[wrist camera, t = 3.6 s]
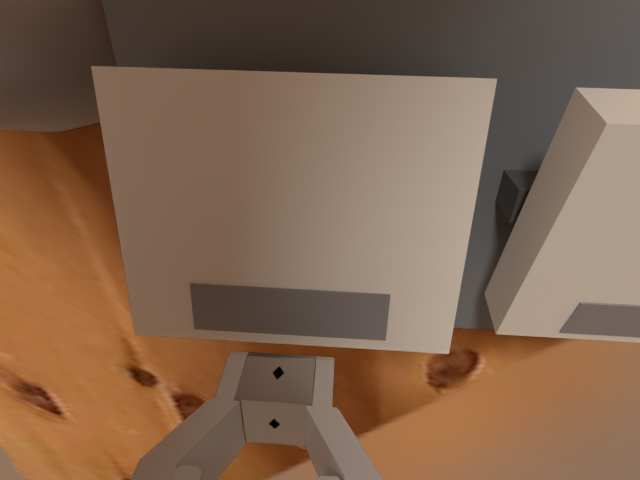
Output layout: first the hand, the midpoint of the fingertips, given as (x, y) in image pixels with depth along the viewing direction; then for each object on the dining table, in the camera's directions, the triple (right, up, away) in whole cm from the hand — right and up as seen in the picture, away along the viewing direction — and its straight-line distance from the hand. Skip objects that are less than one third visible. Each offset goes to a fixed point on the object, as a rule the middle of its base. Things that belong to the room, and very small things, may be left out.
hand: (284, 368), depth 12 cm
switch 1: (0, +5, +1) cm, 5 cm away
